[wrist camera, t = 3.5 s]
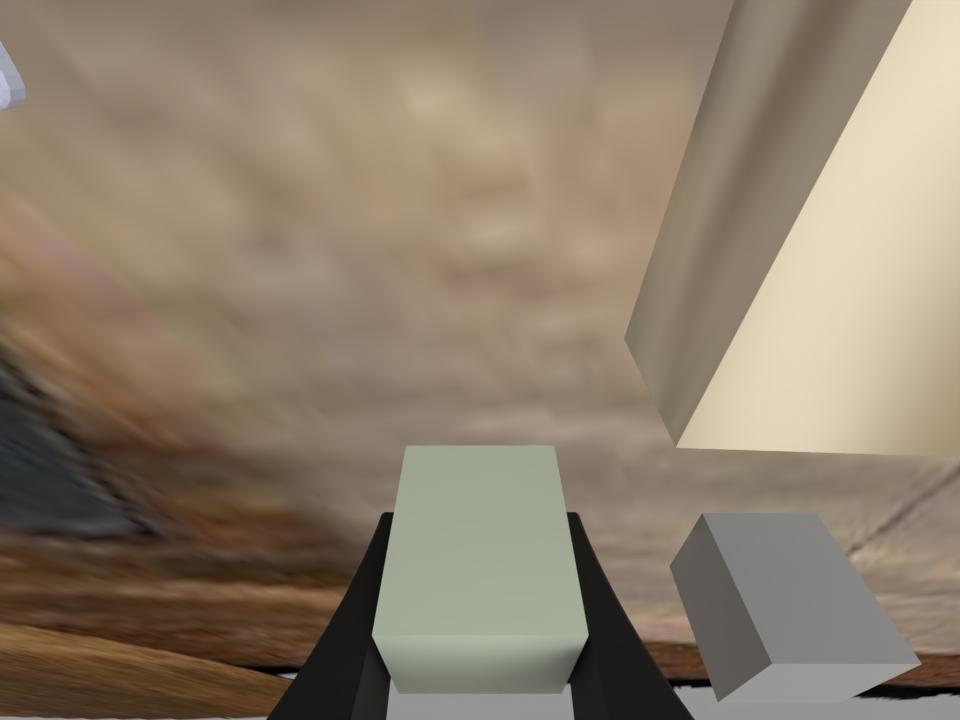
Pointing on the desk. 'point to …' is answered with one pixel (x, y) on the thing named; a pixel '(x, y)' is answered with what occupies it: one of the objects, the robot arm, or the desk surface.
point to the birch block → (814, 238)
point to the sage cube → (480, 574)
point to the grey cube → (783, 611)
